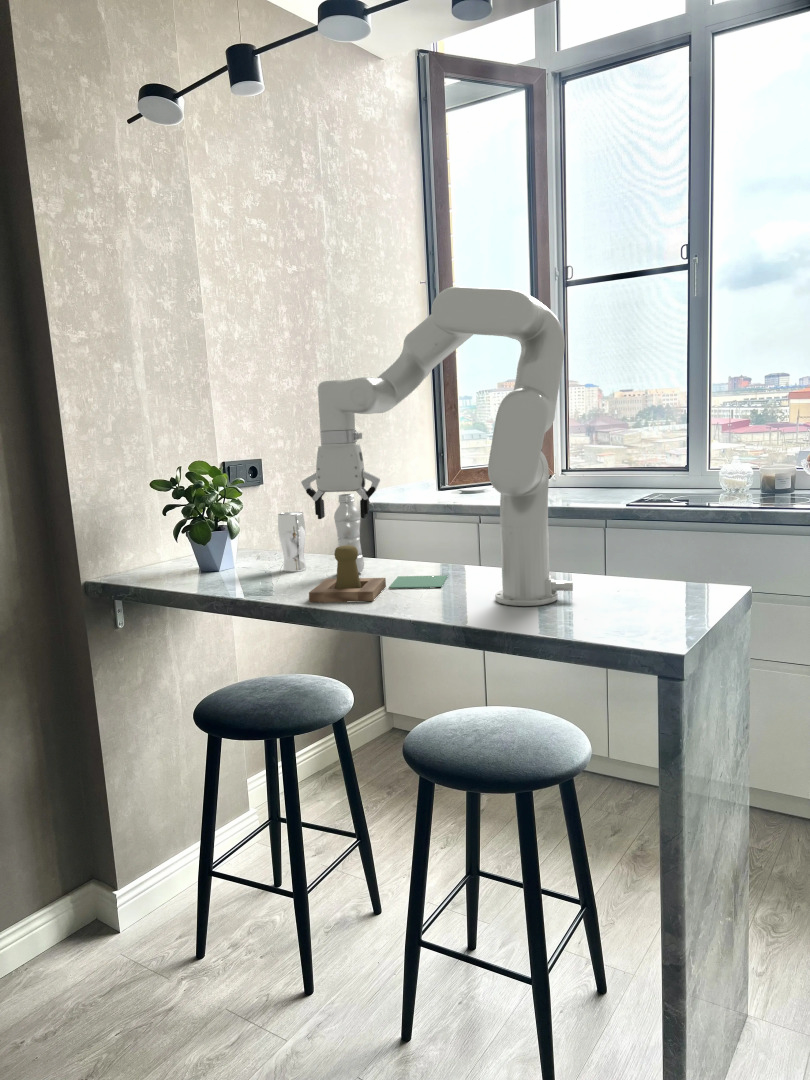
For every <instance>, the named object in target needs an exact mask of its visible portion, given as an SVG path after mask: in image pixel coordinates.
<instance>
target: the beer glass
mask: <svg viewBox="0 0 810 1080" xmlns="http://www.w3.org/2000/svg"><path fill="white" fill-rule="evenodd" d="M277 529H278V530H277V531H278V539H279V542H280V546H281V550H282V554H283V567H282V569H283V570H282V571H283V572H286V573H296V572H303V571H306V570H307V565H306V561H305V542H306V524H305V517H304V512H303V511H288V512H280V513H278V514H277Z"/></svg>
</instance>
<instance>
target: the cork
mask: <svg viewBox="0 0 810 1080" xmlns="http://www.w3.org/2000/svg"><path fill="white" fill-rule="evenodd" d="M357 557H358V550H357V548H356V547H355V546H351V545H344V546H339V547H338V546H337V547H336V548H335V550H334V558H335V560H336V563H337V565H336V567H337V568H336V578H335V579H336V589H356V588H361V583H360V578H361V577H360V574H359V573H358V568H357V563H356V559H357Z"/></svg>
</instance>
